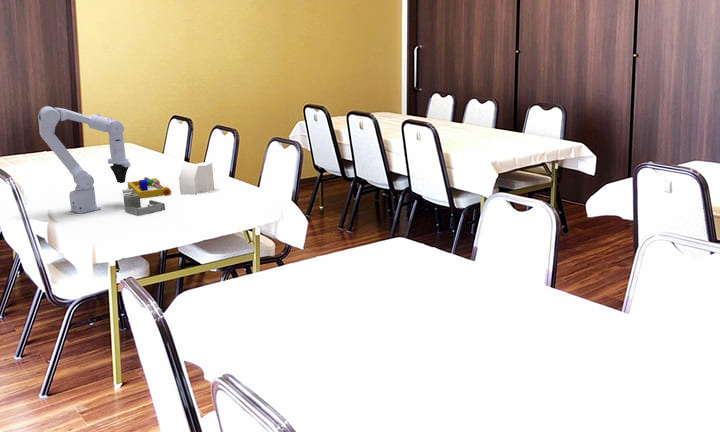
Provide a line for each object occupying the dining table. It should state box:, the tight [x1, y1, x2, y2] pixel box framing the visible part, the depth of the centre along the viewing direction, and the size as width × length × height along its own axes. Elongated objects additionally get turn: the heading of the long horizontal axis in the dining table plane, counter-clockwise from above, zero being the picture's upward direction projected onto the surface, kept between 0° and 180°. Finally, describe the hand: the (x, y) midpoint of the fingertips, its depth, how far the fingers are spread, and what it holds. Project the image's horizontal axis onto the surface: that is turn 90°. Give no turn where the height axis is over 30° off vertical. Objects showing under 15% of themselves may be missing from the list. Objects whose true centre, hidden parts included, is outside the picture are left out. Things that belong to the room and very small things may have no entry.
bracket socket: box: [124, 199, 166, 216], centre depth 311 cm, size 12×11×3 cm
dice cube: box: [122, 193, 142, 209], centre depth 318 cm, size 5×5×5 cm
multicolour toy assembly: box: [122, 176, 172, 200], centre depth 346 cm, size 18×6×30 cm
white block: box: [178, 162, 215, 195], centre depth 341 cm, size 11×11×12 cm
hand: (121, 182), depth 321 cm, fingers closed
